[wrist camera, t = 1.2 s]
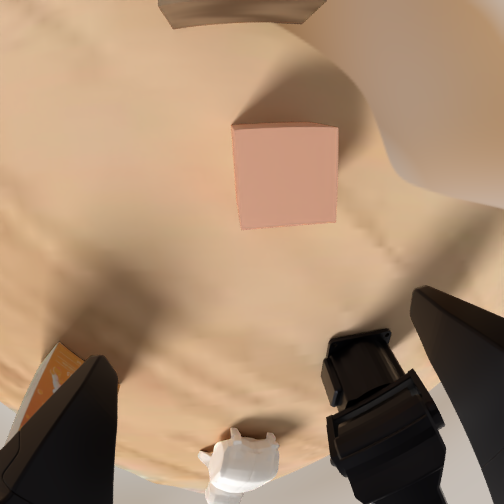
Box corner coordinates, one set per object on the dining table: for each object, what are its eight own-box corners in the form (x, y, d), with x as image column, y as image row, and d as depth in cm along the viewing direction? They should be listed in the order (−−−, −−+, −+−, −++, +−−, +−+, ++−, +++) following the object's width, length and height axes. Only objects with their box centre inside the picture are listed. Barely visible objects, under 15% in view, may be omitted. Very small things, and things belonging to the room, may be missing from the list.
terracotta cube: (309, 121, 18) (338, 127, 13) (310, 195, 20) (335, 222, 15) (230, 125, 17) (233, 130, 13) (236, 200, 20) (241, 230, 15)
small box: (121, 383, 27) (99, 494, 15) (95, 401, 28) (73, 496, 17) (58, 338, 24) (10, 448, 12) (39, 363, 25) (-1, 457, 14)
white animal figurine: (216, 410, 35) (186, 477, 35) (228, 453, 26) (192, 518, 27) (274, 419, 37) (237, 483, 37) (296, 458, 29) (250, 521, 29)
